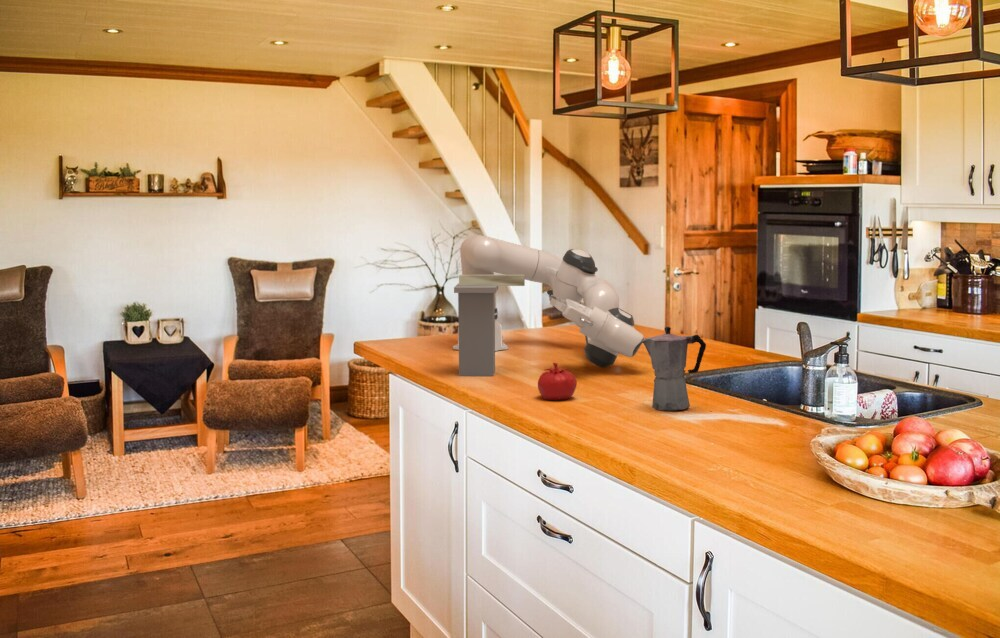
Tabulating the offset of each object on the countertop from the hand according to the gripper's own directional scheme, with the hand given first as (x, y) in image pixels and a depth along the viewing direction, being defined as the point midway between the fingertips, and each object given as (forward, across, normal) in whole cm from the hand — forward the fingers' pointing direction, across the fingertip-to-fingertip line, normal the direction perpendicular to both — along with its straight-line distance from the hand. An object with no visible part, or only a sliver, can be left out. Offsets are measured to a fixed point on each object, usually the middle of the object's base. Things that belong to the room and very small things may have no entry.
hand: (550, 298), depth 274 cm
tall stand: (+8, 0, -30) cm, 31 cm away
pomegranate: (-12, -35, -19) cm, 41 cm away
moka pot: (-36, -46, -5) cm, 59 cm away
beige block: (+17, 0, -5) cm, 17 cm away
